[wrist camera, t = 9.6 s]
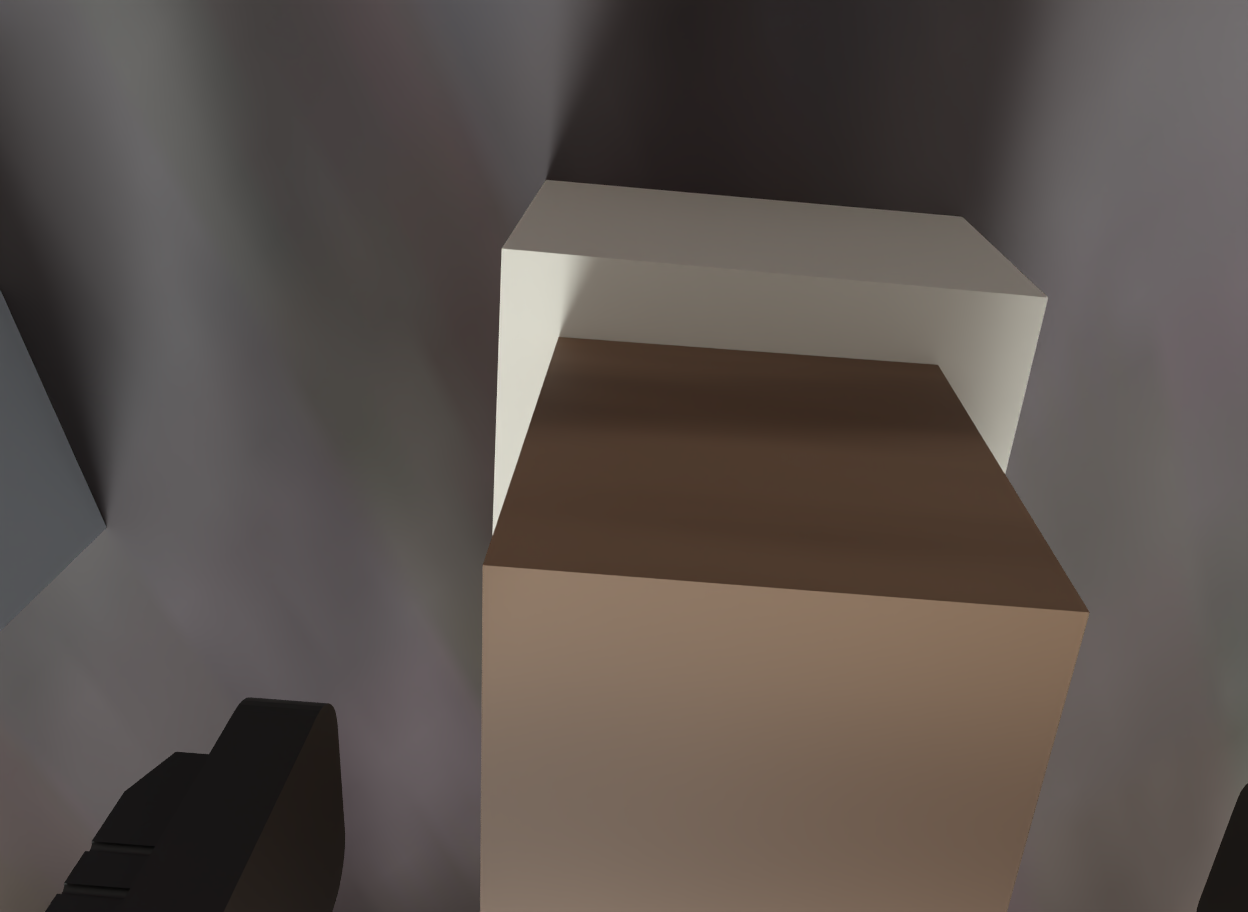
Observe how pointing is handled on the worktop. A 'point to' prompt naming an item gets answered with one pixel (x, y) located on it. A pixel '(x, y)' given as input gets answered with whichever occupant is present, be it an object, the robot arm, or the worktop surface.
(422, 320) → the worktop surface
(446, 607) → the worktop surface
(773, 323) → the base block
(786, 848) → the walnut block
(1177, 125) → the worktop surface
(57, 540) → the slate-grey block
